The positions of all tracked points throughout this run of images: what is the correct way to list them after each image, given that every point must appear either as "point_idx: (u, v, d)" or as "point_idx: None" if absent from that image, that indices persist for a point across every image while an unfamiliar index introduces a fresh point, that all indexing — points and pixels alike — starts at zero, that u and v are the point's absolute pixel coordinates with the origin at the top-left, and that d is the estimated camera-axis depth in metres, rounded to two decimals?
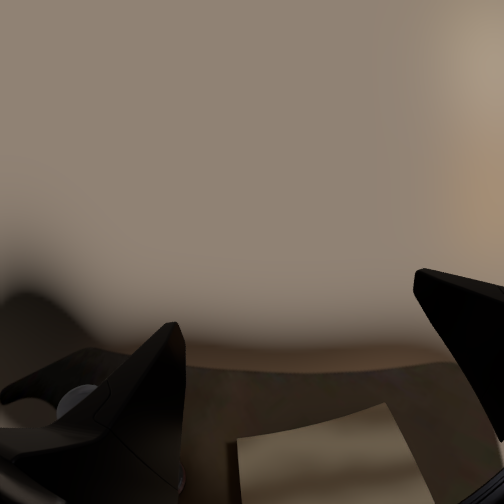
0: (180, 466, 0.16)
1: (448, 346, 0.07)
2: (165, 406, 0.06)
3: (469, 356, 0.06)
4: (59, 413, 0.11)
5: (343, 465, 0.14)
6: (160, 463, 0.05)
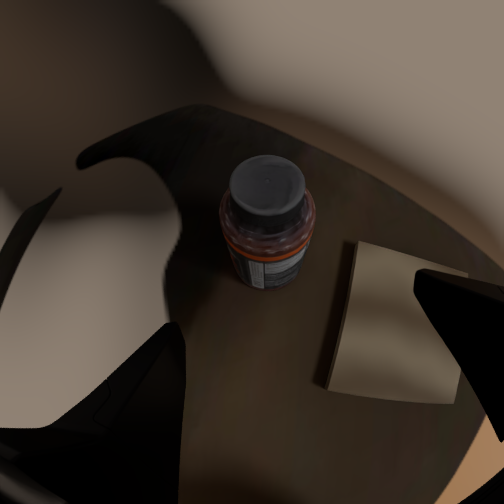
0: None
1: (447, 346, 0.07)
2: (165, 406, 0.06)
3: (469, 356, 0.06)
4: (235, 187, 0.14)
5: None
6: (160, 463, 0.05)
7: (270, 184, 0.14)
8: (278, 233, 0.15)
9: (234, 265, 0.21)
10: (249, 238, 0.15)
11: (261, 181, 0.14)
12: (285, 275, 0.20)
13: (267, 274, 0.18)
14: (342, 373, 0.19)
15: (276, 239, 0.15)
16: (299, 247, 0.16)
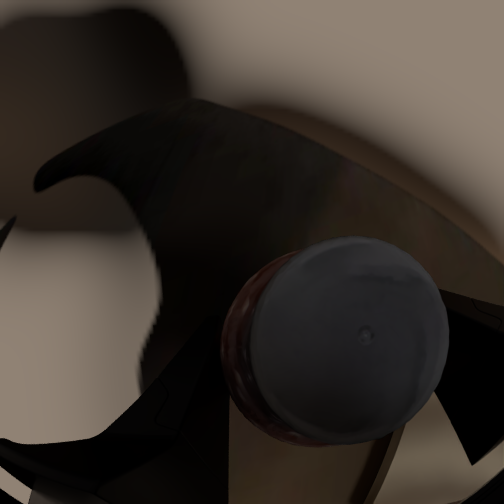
0: None
1: None
2: (218, 402, 0.06)
3: None
4: (270, 364, 0.04)
5: None
6: (216, 462, 0.05)
7: (375, 350, 0.04)
8: None
9: None
10: (292, 432, 0.05)
11: (351, 338, 0.04)
12: None
13: None
14: (388, 495, 0.09)
15: None
16: None
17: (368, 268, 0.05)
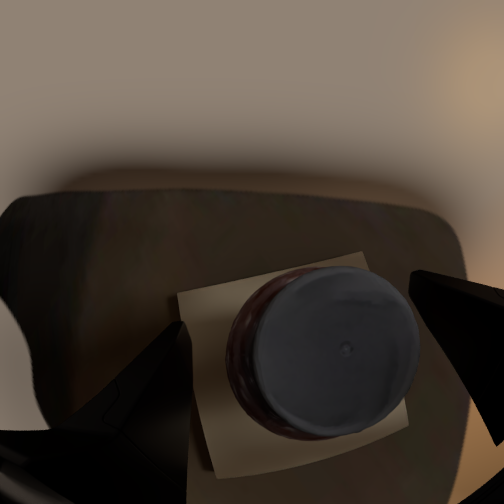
0: None
1: (443, 349, 0.07)
2: (174, 406, 0.06)
3: (464, 359, 0.06)
4: (268, 371, 0.05)
5: None
6: (169, 463, 0.05)
7: (354, 361, 0.05)
8: None
9: None
10: (288, 427, 0.06)
11: (333, 351, 0.05)
12: None
13: None
14: (223, 458, 0.13)
15: None
16: None
17: (350, 294, 0.06)
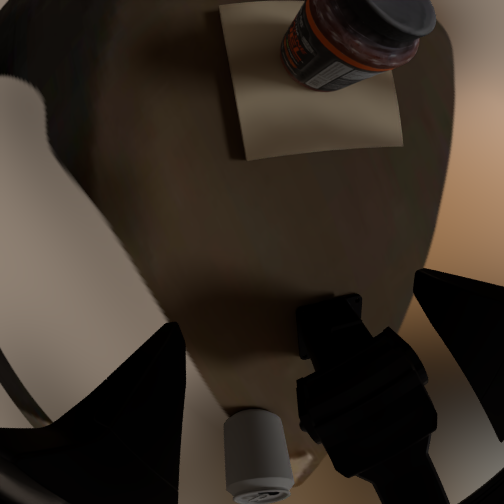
0: None
1: (448, 346, 0.07)
2: (165, 406, 0.06)
3: (469, 356, 0.06)
4: None
5: None
6: (160, 463, 0.05)
7: (404, 0, 0.05)
8: (392, 48, 0.08)
9: (291, 58, 0.13)
10: (357, 41, 0.08)
11: None
12: (353, 83, 0.13)
13: (343, 78, 0.12)
14: (255, 138, 0.18)
15: (387, 52, 0.08)
16: (398, 66, 0.09)
17: None
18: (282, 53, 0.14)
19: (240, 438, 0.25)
